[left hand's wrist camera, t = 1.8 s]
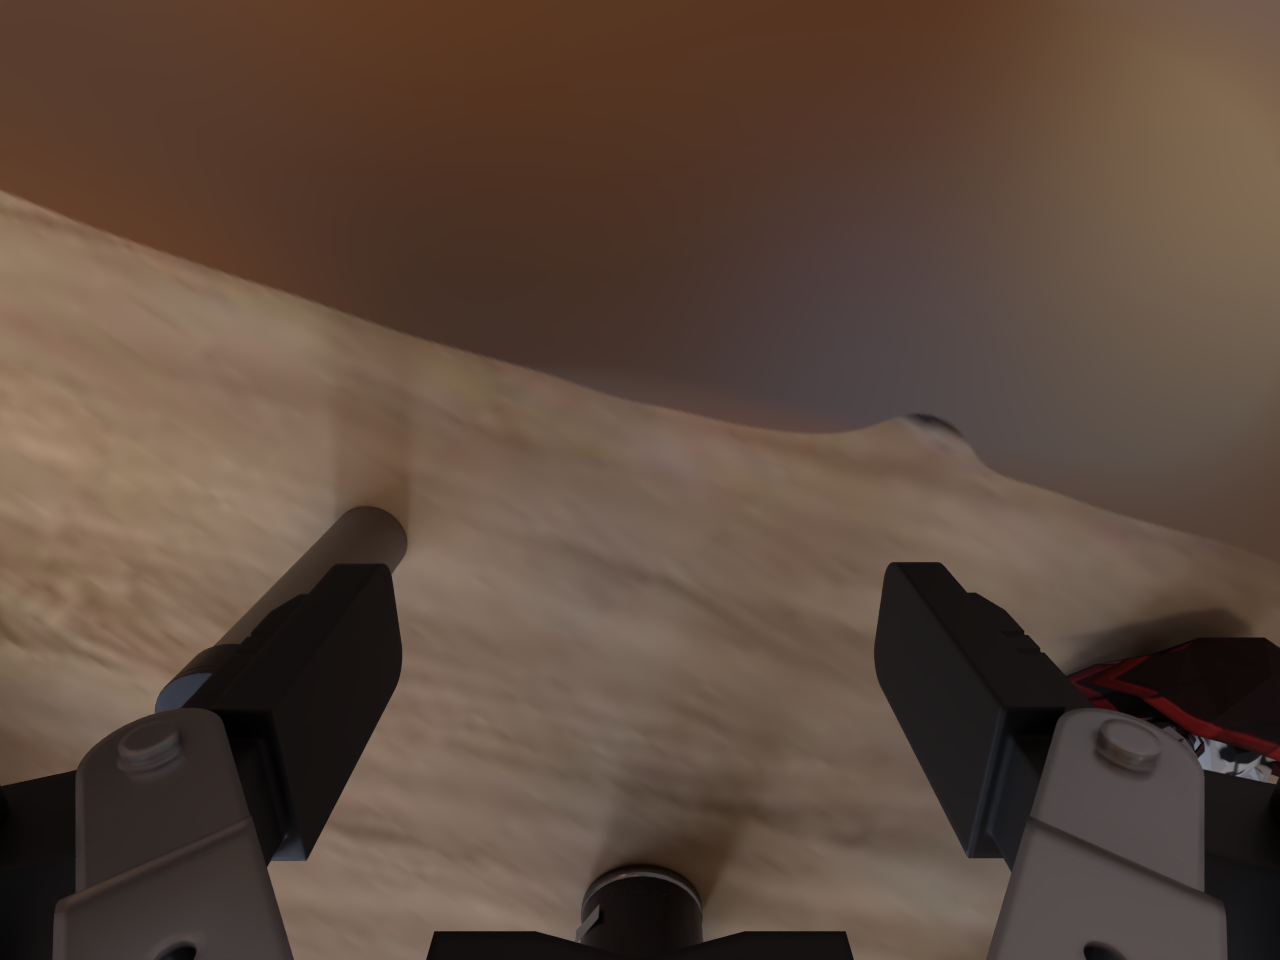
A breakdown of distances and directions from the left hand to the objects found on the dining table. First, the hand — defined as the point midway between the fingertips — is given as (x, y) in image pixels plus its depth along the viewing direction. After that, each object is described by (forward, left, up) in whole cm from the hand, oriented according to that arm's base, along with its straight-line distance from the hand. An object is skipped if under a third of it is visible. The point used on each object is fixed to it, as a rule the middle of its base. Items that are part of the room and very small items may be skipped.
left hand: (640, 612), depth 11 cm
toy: (-23, -33, -29) cm, 50 cm away
